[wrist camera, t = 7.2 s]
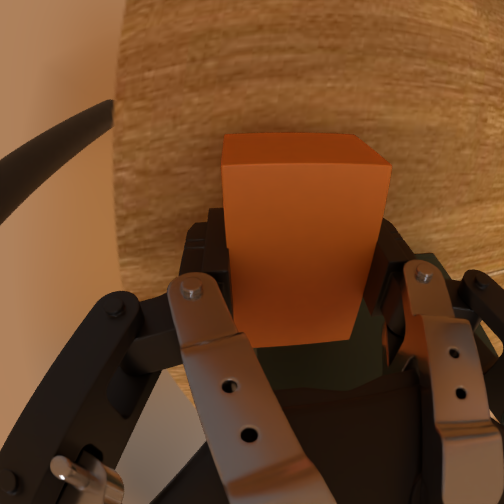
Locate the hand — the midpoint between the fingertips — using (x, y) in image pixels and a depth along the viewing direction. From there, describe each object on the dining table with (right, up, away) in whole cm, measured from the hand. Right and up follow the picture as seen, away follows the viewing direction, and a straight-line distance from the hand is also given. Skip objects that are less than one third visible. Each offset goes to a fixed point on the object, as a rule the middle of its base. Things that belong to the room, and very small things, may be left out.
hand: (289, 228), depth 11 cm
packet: (0, 0, 0) cm, 0 cm away
